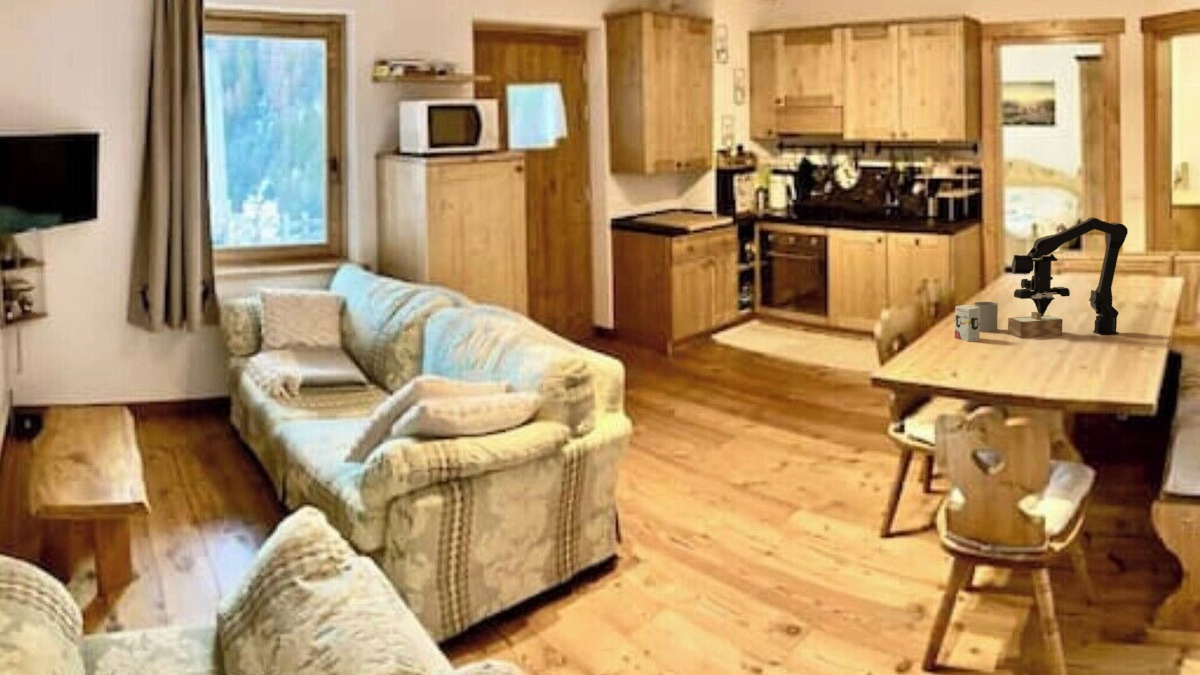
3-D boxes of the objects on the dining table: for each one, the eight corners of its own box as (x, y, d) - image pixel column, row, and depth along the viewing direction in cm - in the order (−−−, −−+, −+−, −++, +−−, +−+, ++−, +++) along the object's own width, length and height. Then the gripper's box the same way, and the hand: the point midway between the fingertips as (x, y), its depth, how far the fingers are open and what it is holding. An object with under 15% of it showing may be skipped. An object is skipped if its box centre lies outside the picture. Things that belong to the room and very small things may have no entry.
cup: (999, 329, 447) (1000, 302, 446) (994, 332, 441) (994, 305, 439) (976, 327, 452) (977, 301, 450) (970, 331, 445) (971, 304, 443)
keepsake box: (1048, 331, 440) (1049, 315, 439) (1062, 335, 431) (1062, 319, 430) (1007, 333, 438) (1008, 318, 437) (1020, 338, 429) (1020, 321, 428)
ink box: (954, 337, 434) (954, 305, 432) (965, 336, 435) (966, 304, 433) (968, 341, 426) (968, 308, 424) (980, 340, 427) (980, 307, 425)
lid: (1051, 317, 438) (1051, 309, 438) (1062, 320, 431) (1062, 313, 431) (1012, 320, 436) (1012, 312, 436) (1023, 323, 429) (1023, 315, 428)
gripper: (1054, 269, 440) (1053, 311, 443) (1007, 272, 437) (1005, 314, 440) (1071, 273, 429) (1069, 316, 432) (1022, 275, 426) (1021, 319, 429)
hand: (1041, 316), depth 434 cm, fingers closed
